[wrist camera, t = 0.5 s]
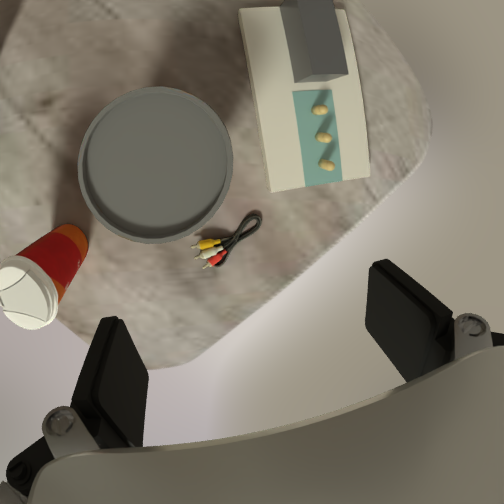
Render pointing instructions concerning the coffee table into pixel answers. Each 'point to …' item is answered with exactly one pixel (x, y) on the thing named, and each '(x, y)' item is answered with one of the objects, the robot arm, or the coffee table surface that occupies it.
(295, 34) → the block
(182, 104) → the reusable coffee cup
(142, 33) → the coffee table surface
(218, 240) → the composite cable
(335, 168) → the board
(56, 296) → the coffee cup
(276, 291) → the coffee table surface
